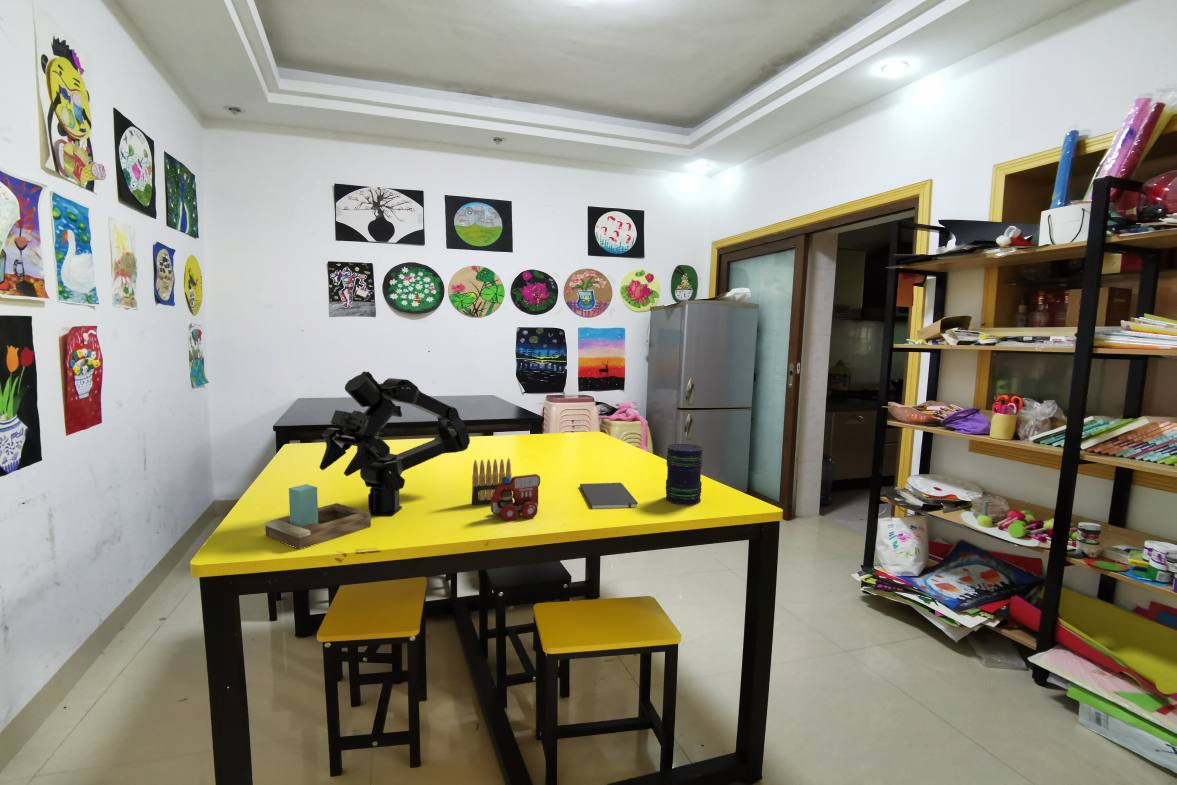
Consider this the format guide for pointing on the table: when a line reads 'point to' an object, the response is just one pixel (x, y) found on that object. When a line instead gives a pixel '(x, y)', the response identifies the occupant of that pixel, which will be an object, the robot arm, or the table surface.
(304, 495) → the peg
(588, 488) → the notebook
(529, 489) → the toy fire truck
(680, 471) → the storage jar
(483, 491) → the ammunition clip
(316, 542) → the keyhole plate
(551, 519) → the table surface
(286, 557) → the table surface
